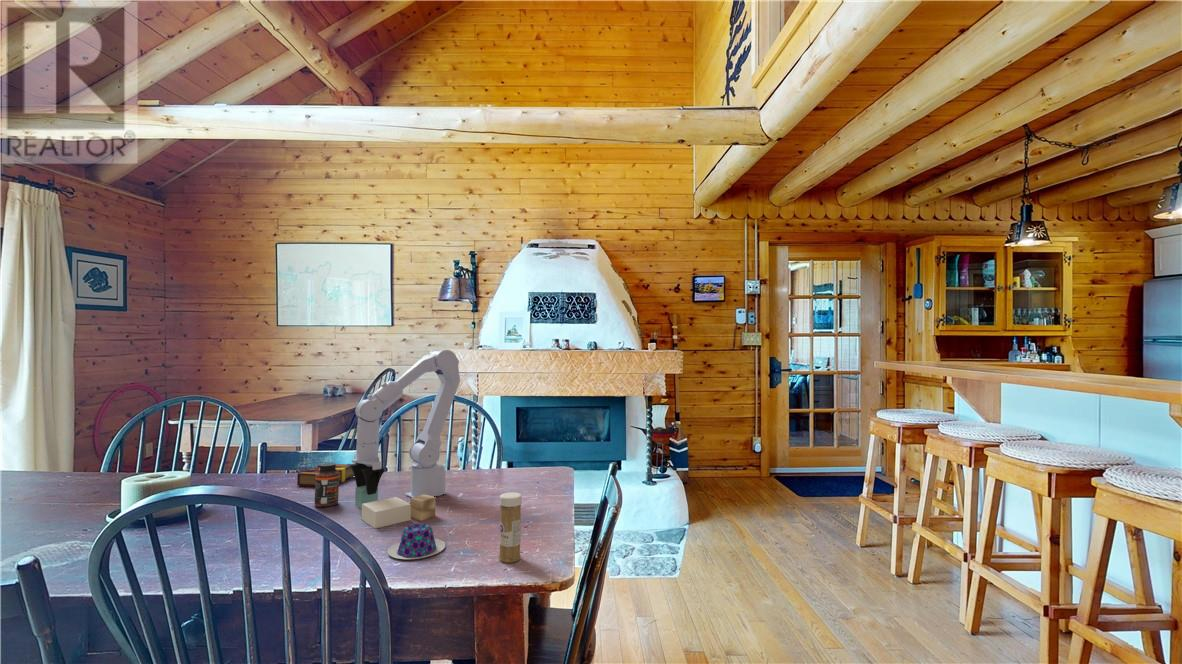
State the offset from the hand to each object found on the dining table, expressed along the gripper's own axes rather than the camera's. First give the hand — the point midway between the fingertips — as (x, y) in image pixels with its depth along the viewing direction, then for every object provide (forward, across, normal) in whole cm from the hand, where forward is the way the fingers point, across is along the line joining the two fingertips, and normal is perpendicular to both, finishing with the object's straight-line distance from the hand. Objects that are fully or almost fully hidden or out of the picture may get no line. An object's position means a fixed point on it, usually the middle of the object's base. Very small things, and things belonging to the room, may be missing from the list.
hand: (366, 491), depth 143 cm
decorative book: (+4, -35, +1) cm, 35 cm away
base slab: (+4, +16, -1) cm, 16 cm away
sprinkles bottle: (+4, +58, +8) cm, 59 cm away
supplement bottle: (+4, -8, -8) cm, 12 cm away
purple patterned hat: (+4, +40, -4) cm, 40 cm away
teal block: (+4, 0, 0) cm, 4 cm away
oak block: (+4, +20, +7) cm, 22 cm away
